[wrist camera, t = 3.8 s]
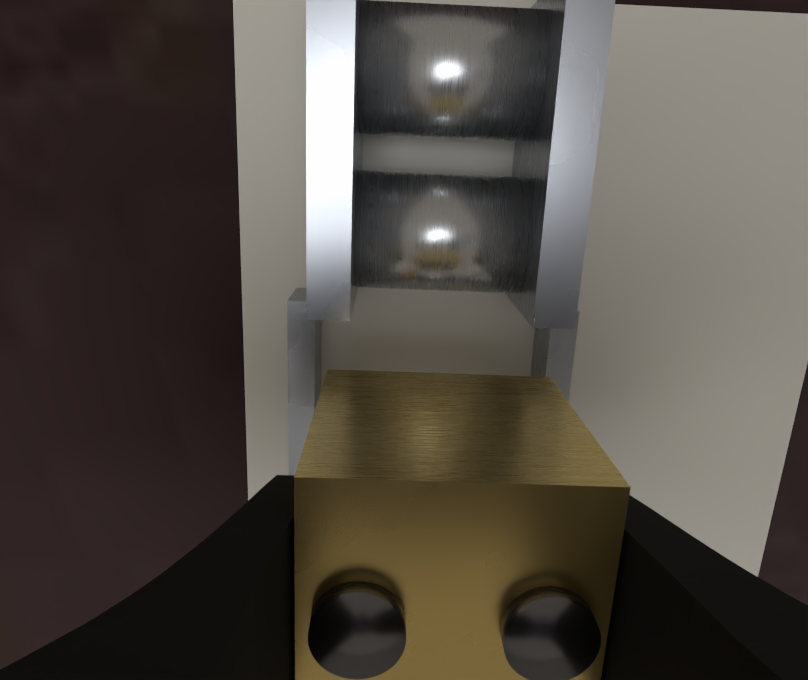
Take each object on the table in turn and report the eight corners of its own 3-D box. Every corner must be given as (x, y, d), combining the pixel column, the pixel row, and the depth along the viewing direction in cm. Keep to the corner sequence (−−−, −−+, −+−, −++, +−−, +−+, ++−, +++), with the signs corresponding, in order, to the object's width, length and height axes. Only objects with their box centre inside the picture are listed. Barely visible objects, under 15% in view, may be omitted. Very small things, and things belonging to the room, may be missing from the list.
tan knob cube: (528, 568, 12) (595, 771, 8) (325, 563, 12) (292, 766, 8) (549, 376, 11) (639, 500, 7) (327, 369, 11) (289, 489, 7)
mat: (877, 20, 14) (887, 18, 14) (726, 682, 19) (731, 690, 19) (236, -12, 14) (232, -16, 13) (256, 672, 19) (253, 680, 18)
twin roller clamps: (595, 16, 14) (662, -30, 10) (519, 679, 18) (547, 796, 15) (294, 0, 13) (261, -51, 10) (298, 674, 18) (277, 791, 15)
